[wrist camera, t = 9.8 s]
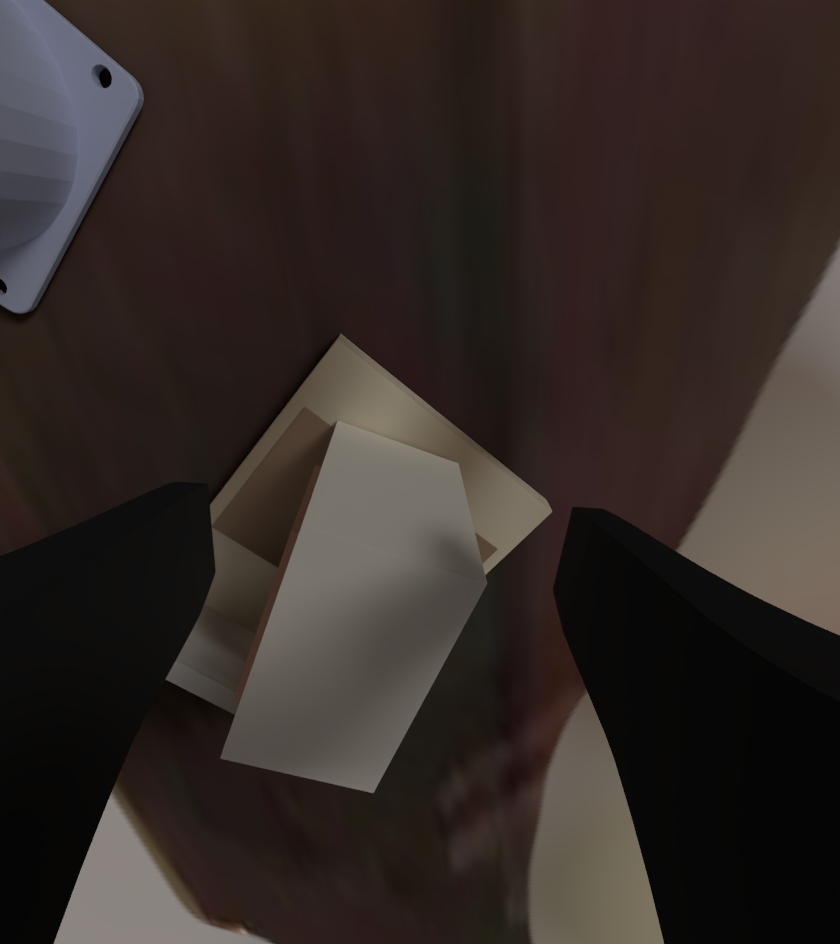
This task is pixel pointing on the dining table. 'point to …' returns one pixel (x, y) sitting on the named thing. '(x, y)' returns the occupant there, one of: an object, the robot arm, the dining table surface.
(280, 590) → the carton
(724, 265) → the dining table surface
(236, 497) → the cream tray
